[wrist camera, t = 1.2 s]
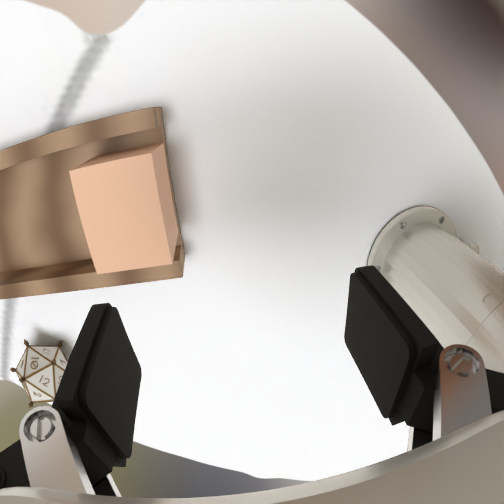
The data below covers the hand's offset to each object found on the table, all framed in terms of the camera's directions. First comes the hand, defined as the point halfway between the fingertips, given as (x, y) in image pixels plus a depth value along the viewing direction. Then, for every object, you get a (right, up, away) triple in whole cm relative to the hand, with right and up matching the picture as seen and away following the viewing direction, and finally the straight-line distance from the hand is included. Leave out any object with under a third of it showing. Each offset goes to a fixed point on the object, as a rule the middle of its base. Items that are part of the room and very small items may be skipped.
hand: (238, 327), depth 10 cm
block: (-9, +7, +16) cm, 20 cm away
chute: (-17, +7, +16) cm, 25 cm away
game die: (-25, -10, +24) cm, 36 cm away
